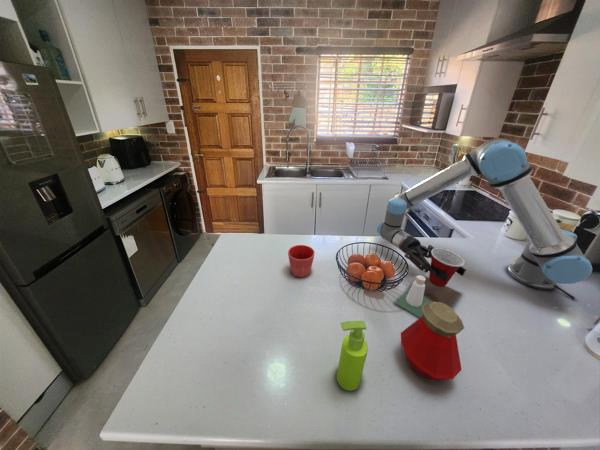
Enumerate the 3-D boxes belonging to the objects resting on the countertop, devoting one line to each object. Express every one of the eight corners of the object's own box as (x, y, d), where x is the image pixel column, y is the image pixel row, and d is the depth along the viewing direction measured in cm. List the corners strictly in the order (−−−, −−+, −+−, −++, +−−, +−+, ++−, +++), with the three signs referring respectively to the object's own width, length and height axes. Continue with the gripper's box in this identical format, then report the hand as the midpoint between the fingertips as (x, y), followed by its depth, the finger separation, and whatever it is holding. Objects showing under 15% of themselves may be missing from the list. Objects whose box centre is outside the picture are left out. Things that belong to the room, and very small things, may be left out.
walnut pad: (459, 294, 94) (460, 293, 93) (449, 308, 87) (450, 307, 87) (422, 276, 103) (423, 275, 102) (411, 288, 96) (411, 287, 95)
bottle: (466, 385, 63) (497, 331, 54) (423, 401, 59) (448, 346, 50) (423, 335, 76) (442, 285, 67) (385, 345, 73) (400, 293, 64)
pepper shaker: (420, 309, 85) (429, 284, 80) (404, 303, 88) (411, 278, 83) (422, 300, 89) (431, 276, 84) (407, 294, 92) (414, 270, 87)
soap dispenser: (330, 368, 66) (338, 314, 57) (356, 367, 67) (367, 313, 57) (335, 391, 61) (345, 336, 52) (362, 389, 61) (376, 334, 52)
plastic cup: (458, 294, 87) (470, 267, 81) (426, 289, 89) (435, 262, 83) (448, 275, 96) (459, 249, 91) (419, 271, 98) (427, 245, 93)
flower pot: (283, 275, 100) (283, 255, 96) (294, 261, 109) (294, 242, 105) (307, 282, 96) (309, 262, 92) (316, 267, 106) (318, 248, 101)
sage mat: (448, 310, 86) (448, 309, 86) (436, 328, 79) (437, 327, 79) (409, 290, 95) (409, 289, 94) (395, 304, 88) (395, 303, 88)
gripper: (422, 246, 110) (471, 277, 91) (385, 255, 102) (431, 291, 84) (426, 231, 106) (478, 260, 88) (389, 240, 99) (437, 273, 80)
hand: (455, 275), depth 86 cm, fingers closed on plastic cup, 8 cm apart
